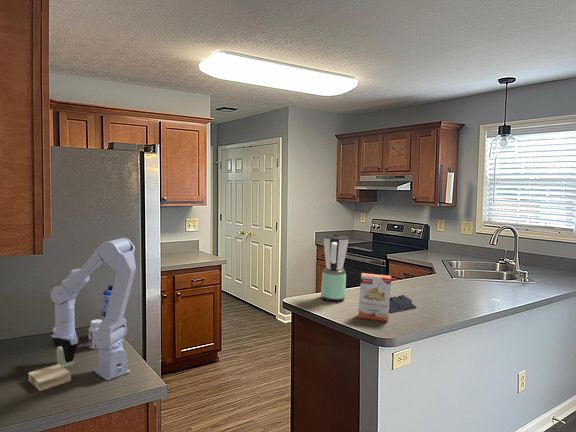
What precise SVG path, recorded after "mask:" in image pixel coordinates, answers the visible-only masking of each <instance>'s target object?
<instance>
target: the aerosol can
mask: <svg viewBox="0 0 576 432" xmlns="http://www.w3.org/2000/svg"><path fill="white" fill-rule="evenodd" d="M112 289H113V285H108V288H107V289H105V290H104V291H103V292H102V293H101V295H100V304H101V305H100V320H102V321H103V319H104V318H105V316H106V312H107V308H108V304H109V300H110V296H111V293H112Z"/></svg>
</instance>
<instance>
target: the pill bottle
mask: <svg viewBox="0 0 576 432" xmlns="http://www.w3.org/2000/svg"><path fill="white" fill-rule="evenodd" d="M101 322H102V320H101V318H100V319H99V318H98V319H93V320H91V321H90V327H89V328H88V348H89V349H91V350H98V348H97V346H96V345H95V343H94V340H93V336H94V334H95V332H96V331H97V330H98V328H99V325H100V323H101Z"/></svg>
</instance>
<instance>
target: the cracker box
mask: <svg viewBox="0 0 576 432" xmlns="http://www.w3.org/2000/svg"><path fill="white" fill-rule="evenodd" d="M391 285H392V276H391V275H387V274H386V275H384V274H376V273H375V274H374V273H365V272H361V276H360V287H359V299H358V301H359V302H358V315H357V318H358V319H365V320H366V319H367V320H373V321H381V322H389V315H390V313H389V303H390V297H391V287H392V286H391Z"/></svg>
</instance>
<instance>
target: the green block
mask: <svg viewBox="0 0 576 432" xmlns="http://www.w3.org/2000/svg"><path fill="white" fill-rule="evenodd" d="M56 364H60V365H62V366H63V367H64V368H67V367H69V366H70V367H71V366H73V365H75V358H74V359H73V361H71V362H68V363H66V361H65V356H64V351H63V348H62V346H59V347H57V351H56Z"/></svg>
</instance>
